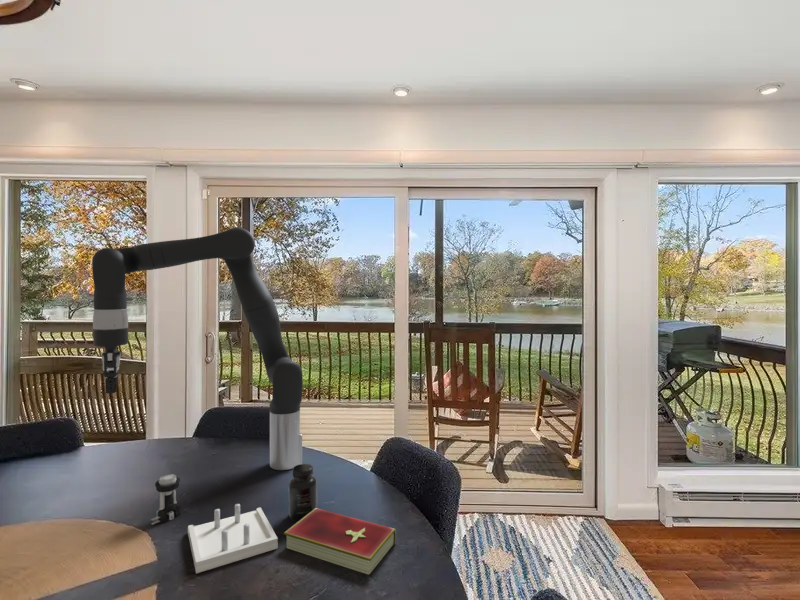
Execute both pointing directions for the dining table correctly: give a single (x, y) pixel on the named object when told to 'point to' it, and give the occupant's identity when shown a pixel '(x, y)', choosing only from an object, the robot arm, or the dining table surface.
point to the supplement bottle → (302, 492)
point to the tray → (230, 539)
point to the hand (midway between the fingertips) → (112, 389)
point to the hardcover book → (341, 540)
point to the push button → (167, 498)
